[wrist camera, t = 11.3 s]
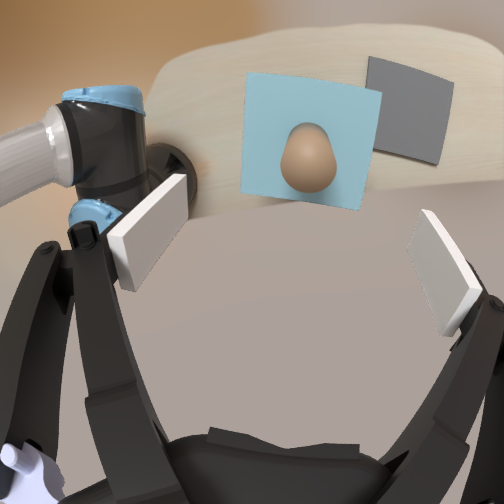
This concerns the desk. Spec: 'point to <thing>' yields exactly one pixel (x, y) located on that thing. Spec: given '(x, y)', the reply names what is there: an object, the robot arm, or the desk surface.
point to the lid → (308, 139)
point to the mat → (410, 109)
